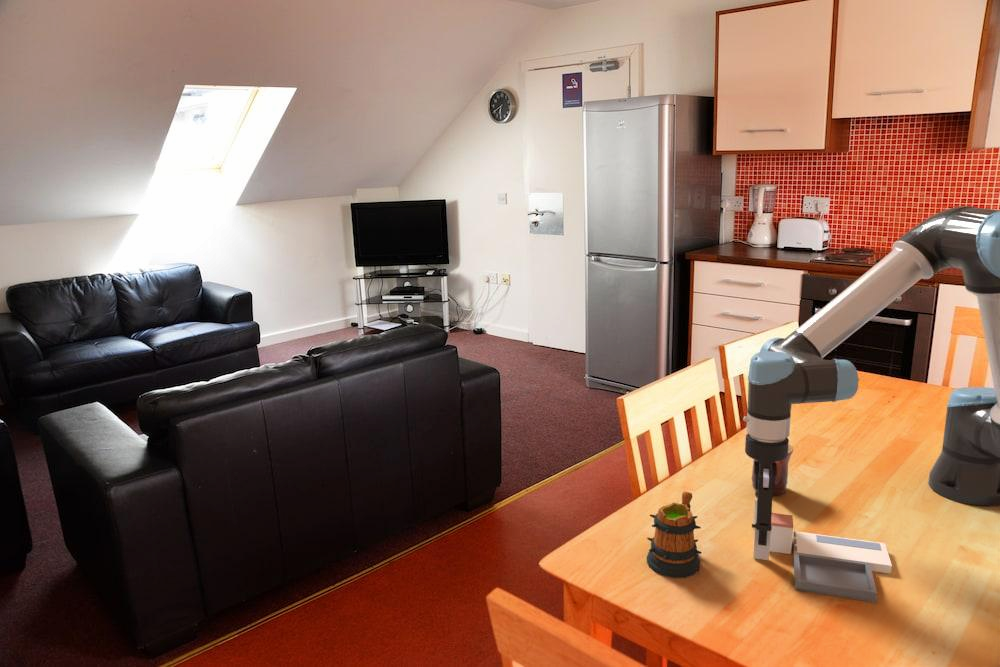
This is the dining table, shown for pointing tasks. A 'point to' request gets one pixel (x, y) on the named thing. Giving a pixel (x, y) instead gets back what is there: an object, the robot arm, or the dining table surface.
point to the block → (781, 533)
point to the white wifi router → (844, 549)
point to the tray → (834, 577)
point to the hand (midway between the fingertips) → (760, 543)
